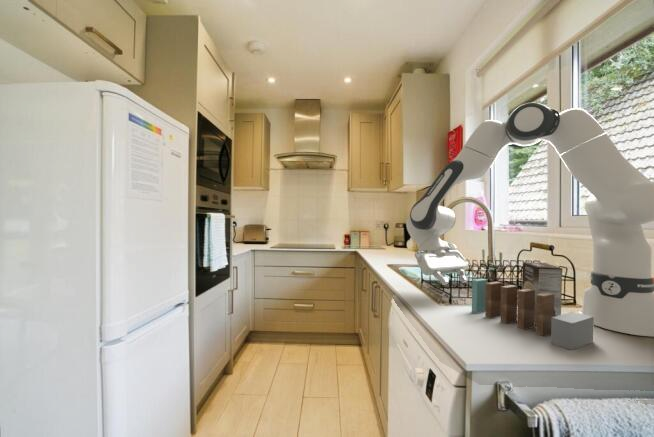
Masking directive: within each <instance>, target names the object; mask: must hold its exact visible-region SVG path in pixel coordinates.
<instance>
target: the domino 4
mask: <svg viewBox="0 0 654 437" xmlns="http://www.w3.org/2000/svg"><path fill="white" fill-rule="evenodd" d="M534 318H535V290H533V289H529V288H528V289H523V290H522V289H519V290H517V321H516V323H517V324H516V326H517V329H521V330H528V329H531V328H534V327H535V323H534Z"/></svg>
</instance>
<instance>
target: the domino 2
mask: <svg viewBox="0 0 654 437" xmlns="http://www.w3.org/2000/svg"><path fill="white" fill-rule="evenodd" d="M502 285H503V283H502V282H500V281H492V282H491V281H490V282H488V283H486V308H485V312H484V313H485V315H484V316H485V318H488V319H494V318H498V317H501V286H502Z"/></svg>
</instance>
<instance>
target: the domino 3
mask: <svg viewBox="0 0 654 437" xmlns="http://www.w3.org/2000/svg"><path fill="white" fill-rule="evenodd" d="M518 288H519V286H518V285H515V284H509V285H503V286H501V316H500V322H501V323H504V324H511V323H515V322H517V310H518Z"/></svg>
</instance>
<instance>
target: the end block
mask: <svg viewBox="0 0 654 437" xmlns="http://www.w3.org/2000/svg"><path fill="white" fill-rule="evenodd" d="M593 323H594V317H592V316H588V315H584V314H580V313H577V311H570V312H567V313H563V314H561V315H559V316H555V317H552V319H551V334H550V343H551V344H553V345H557V346H559V347H561V348H565V349H567V350H570V351H574V350H576V349H578V348H581V347H584V346H586V345H588V344H591V343H594V324H593Z"/></svg>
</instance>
